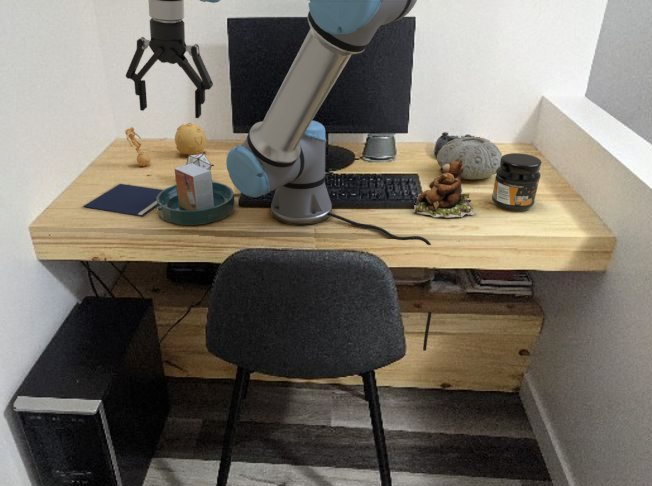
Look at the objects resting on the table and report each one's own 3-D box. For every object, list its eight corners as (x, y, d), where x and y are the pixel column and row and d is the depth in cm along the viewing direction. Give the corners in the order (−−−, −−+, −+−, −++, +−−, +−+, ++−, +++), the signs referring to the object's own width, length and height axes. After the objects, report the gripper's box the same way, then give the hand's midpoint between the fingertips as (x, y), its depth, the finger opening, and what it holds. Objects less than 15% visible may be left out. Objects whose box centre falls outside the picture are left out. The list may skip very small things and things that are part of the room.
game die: (205, 194, 159) (205, 175, 150) (177, 182, 159) (177, 163, 149) (217, 170, 163) (219, 151, 153) (191, 159, 162) (191, 139, 153)
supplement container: (494, 211, 138) (502, 165, 132) (487, 194, 147) (495, 151, 141) (537, 213, 137) (548, 167, 131) (528, 196, 146) (538, 152, 140)
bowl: (246, 200, 146) (245, 185, 144) (213, 231, 131) (211, 216, 128) (183, 191, 152) (181, 177, 149) (143, 220, 136) (141, 205, 134)
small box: (178, 207, 142) (173, 168, 136) (196, 200, 145) (192, 162, 139) (197, 216, 137) (192, 176, 131) (215, 209, 140) (211, 170, 135)
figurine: (147, 170, 165) (140, 131, 159) (127, 170, 165) (120, 131, 159) (154, 161, 172) (148, 123, 166) (135, 161, 172) (128, 123, 166)
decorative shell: (444, 186, 152) (448, 151, 147) (429, 163, 168) (432, 131, 162) (507, 184, 153) (514, 149, 148) (487, 162, 168) (492, 130, 163)
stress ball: (180, 149, 181) (176, 119, 176) (209, 149, 181) (206, 119, 176) (174, 159, 173) (169, 128, 168) (205, 159, 173) (201, 128, 168)
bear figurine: (408, 196, 147) (413, 152, 141) (465, 197, 146) (472, 152, 140) (414, 218, 135) (419, 171, 129) (476, 219, 134) (484, 172, 128)
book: (175, 192, 151) (175, 191, 150) (142, 216, 138) (142, 215, 138) (120, 184, 156) (119, 183, 156) (83, 207, 143) (83, 205, 143)
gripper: (226, 22, 124) (224, 114, 136) (118, 8, 125) (126, 100, 137) (218, 30, 118) (217, 125, 130) (105, 15, 119) (115, 110, 131)
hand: (170, 112), depth 134 cm, fingers open, 13 cm apart
